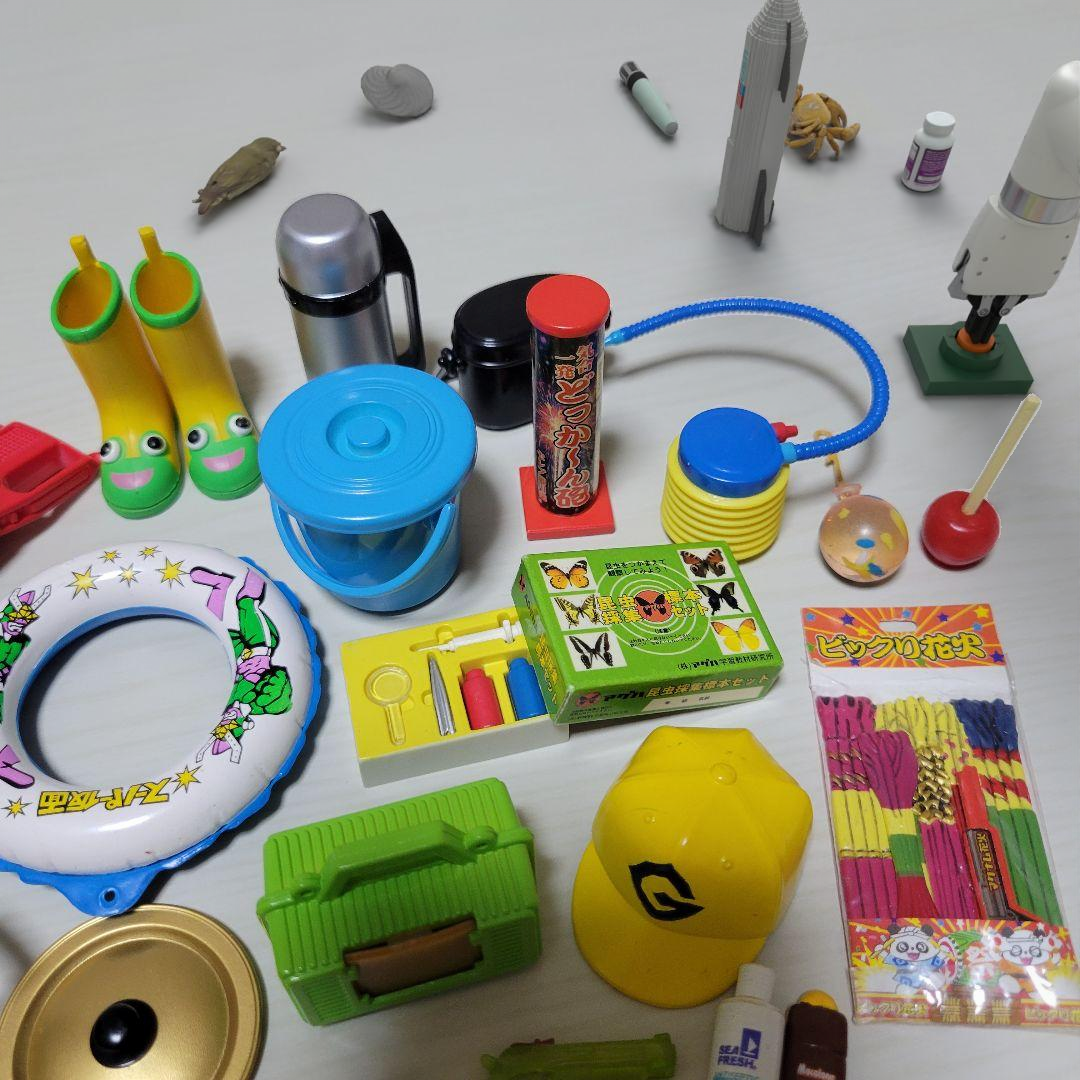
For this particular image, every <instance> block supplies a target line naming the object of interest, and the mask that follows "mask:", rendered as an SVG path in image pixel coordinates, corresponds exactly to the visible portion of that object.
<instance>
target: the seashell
mask: <svg viewBox="0 0 1080 1080" xmlns="http://www.w3.org/2000/svg"><path fill="white" fill-rule="evenodd" d="M360 88H361V91H362V94H363V95H364V97H365V99H366V101H368V102H369V104H370V105H371V106H372V107H373V108H374V109H376V110H377V111H379V112H381V113H382V114H384V115H387V116H390V117H394V118H397V119H411V118H416V117H420V116H422V115H424V114H425V113H426V112H428V110H429V109H430V108H431V106H432V103H433V101H434V88H433V85H432V83H431V80H430V79H429V77H428V76H427V74H426V73H424V72H423V71H422V70H420V69H419V68H418V67H415V66H412V65H411V64H408V63H398V64H395V65H394V66H390V65H387V66H386V65H374V66H371V67H370V68H368V69H367V70H366V71H365V72H364V73H363V74H362V76H361V78H360Z"/></svg>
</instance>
